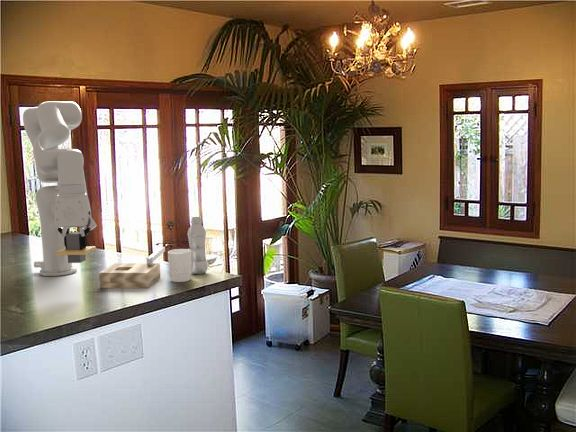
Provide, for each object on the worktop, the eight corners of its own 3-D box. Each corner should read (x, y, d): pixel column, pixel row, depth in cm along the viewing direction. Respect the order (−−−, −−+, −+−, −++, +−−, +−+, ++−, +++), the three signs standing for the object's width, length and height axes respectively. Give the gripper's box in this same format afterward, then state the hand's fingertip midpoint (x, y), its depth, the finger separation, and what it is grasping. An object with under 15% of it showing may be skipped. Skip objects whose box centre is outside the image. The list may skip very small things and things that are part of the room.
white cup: (189, 276, 215) (188, 248, 214) (194, 281, 208) (193, 252, 206) (167, 278, 212) (165, 250, 211) (171, 283, 205) (170, 254, 204)
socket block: (99, 287, 201) (99, 272, 201) (115, 277, 215) (114, 263, 214) (147, 287, 200) (147, 272, 199) (160, 277, 214) (159, 263, 213)
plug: (56, 264, 189) (54, 235, 188) (69, 258, 198) (67, 230, 197) (85, 264, 188) (82, 235, 187) (96, 258, 197) (94, 230, 196)
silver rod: (160, 253, 228) (159, 246, 228) (165, 253, 228) (165, 246, 228) (146, 266, 208) (145, 258, 207) (152, 266, 208) (151, 258, 207)
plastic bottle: (195, 276, 214) (193, 219, 211) (185, 273, 219) (183, 217, 216) (211, 273, 218) (209, 217, 215) (201, 270, 223) (199, 215, 220)
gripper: (40, 191, 187) (44, 251, 190) (93, 190, 186) (97, 250, 188) (51, 189, 195) (55, 246, 197) (103, 188, 193) (106, 246, 195)
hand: (76, 248), depth 192 cm, fingers closed on plug, 4 cm apart
